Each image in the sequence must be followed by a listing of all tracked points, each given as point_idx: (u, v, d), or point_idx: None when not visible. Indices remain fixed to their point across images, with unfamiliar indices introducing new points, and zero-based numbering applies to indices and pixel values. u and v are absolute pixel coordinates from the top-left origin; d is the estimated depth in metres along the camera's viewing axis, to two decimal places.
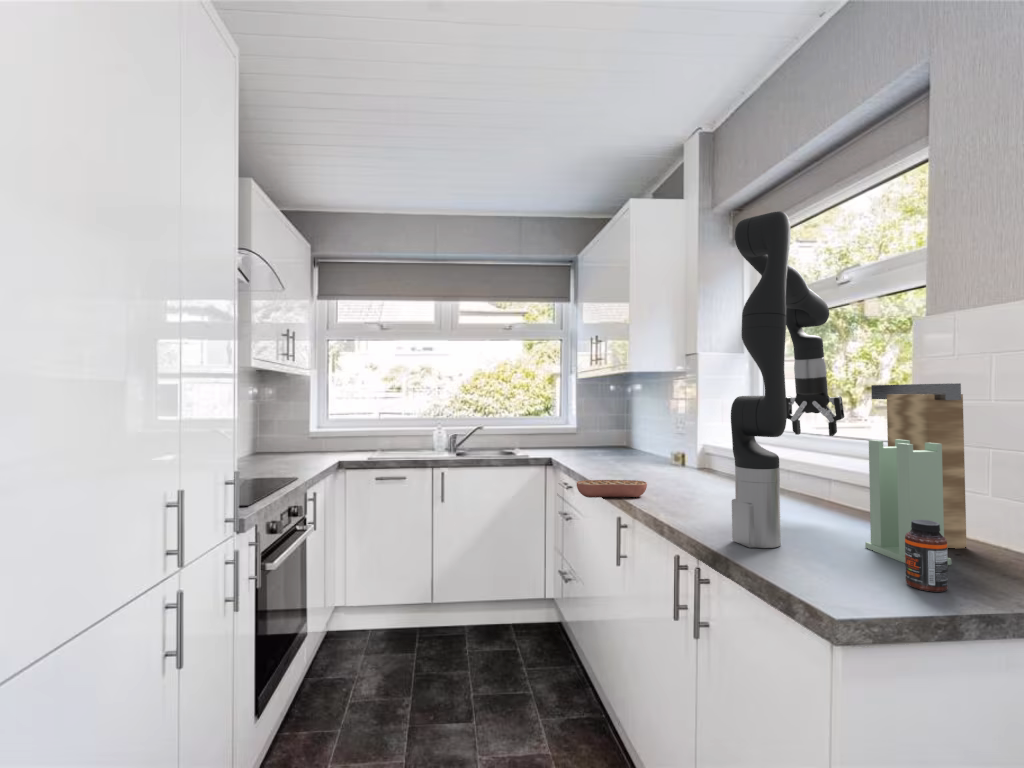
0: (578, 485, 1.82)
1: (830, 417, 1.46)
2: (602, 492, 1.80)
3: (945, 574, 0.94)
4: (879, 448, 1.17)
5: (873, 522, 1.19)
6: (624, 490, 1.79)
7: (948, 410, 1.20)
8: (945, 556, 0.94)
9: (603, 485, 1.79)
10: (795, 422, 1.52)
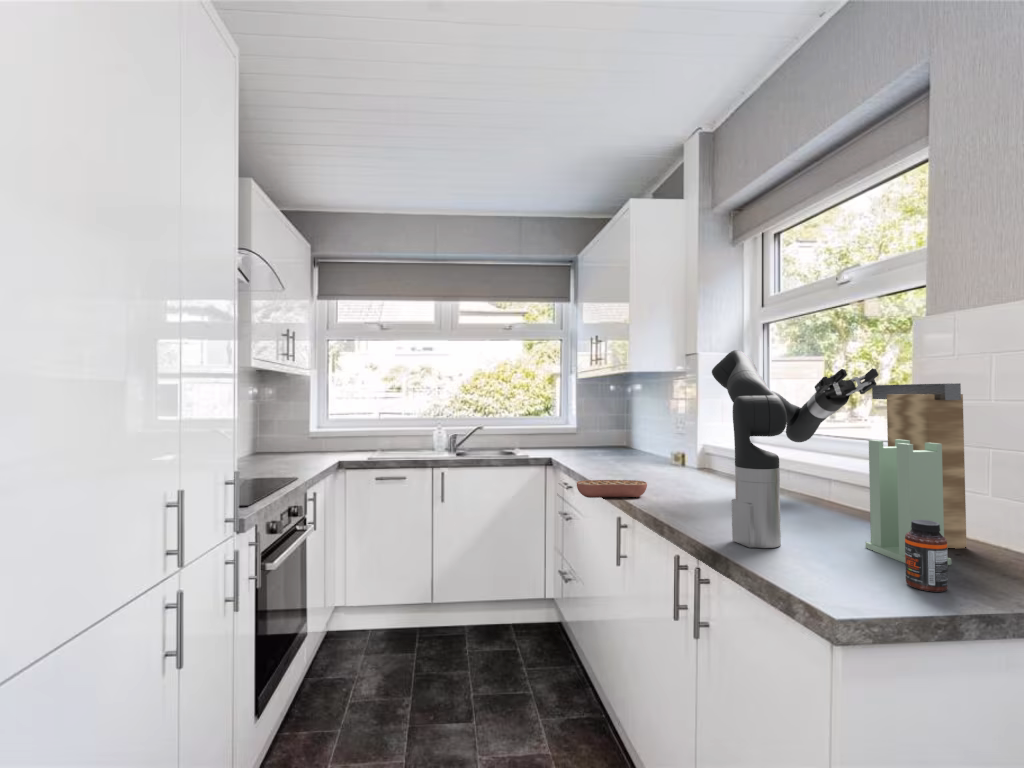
0: (578, 485, 1.81)
1: None
2: (602, 492, 1.80)
3: (945, 574, 0.94)
4: (879, 448, 1.17)
5: (873, 522, 1.19)
6: (625, 490, 1.79)
7: (948, 410, 1.20)
8: (945, 556, 0.94)
9: (603, 485, 1.79)
10: None
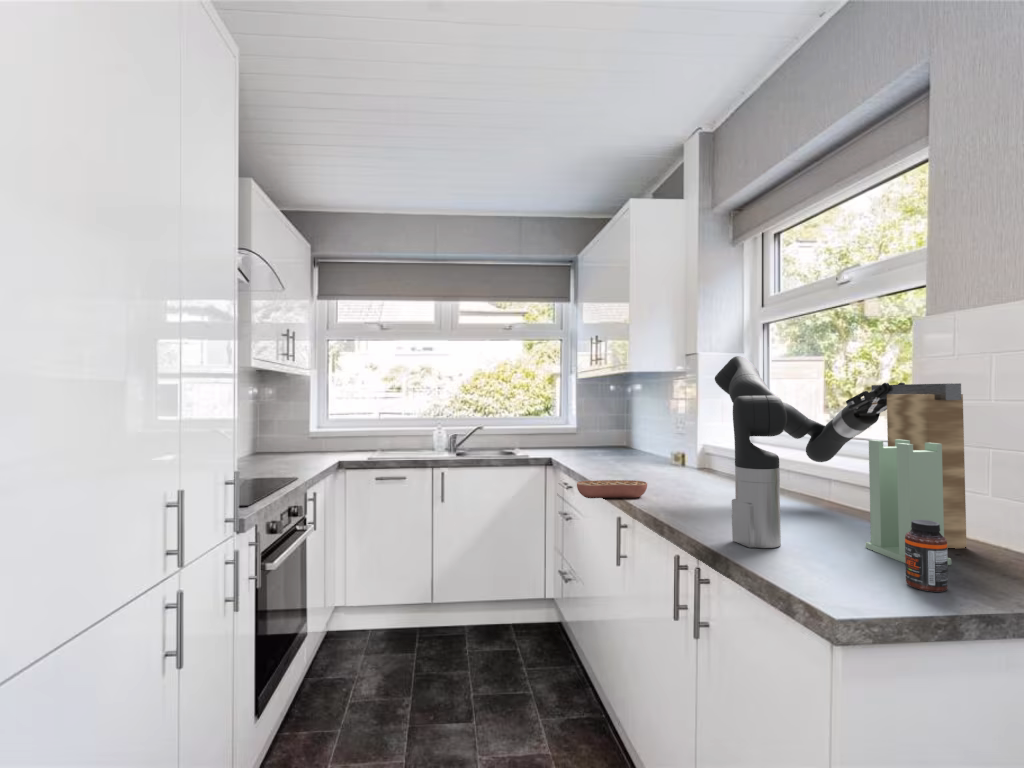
0: (579, 486, 1.80)
1: None
2: (603, 493, 1.79)
3: (945, 574, 0.94)
4: (879, 448, 1.17)
5: (873, 522, 1.19)
6: (625, 490, 1.78)
7: (948, 410, 1.20)
8: (945, 556, 0.94)
9: (604, 486, 1.78)
10: None
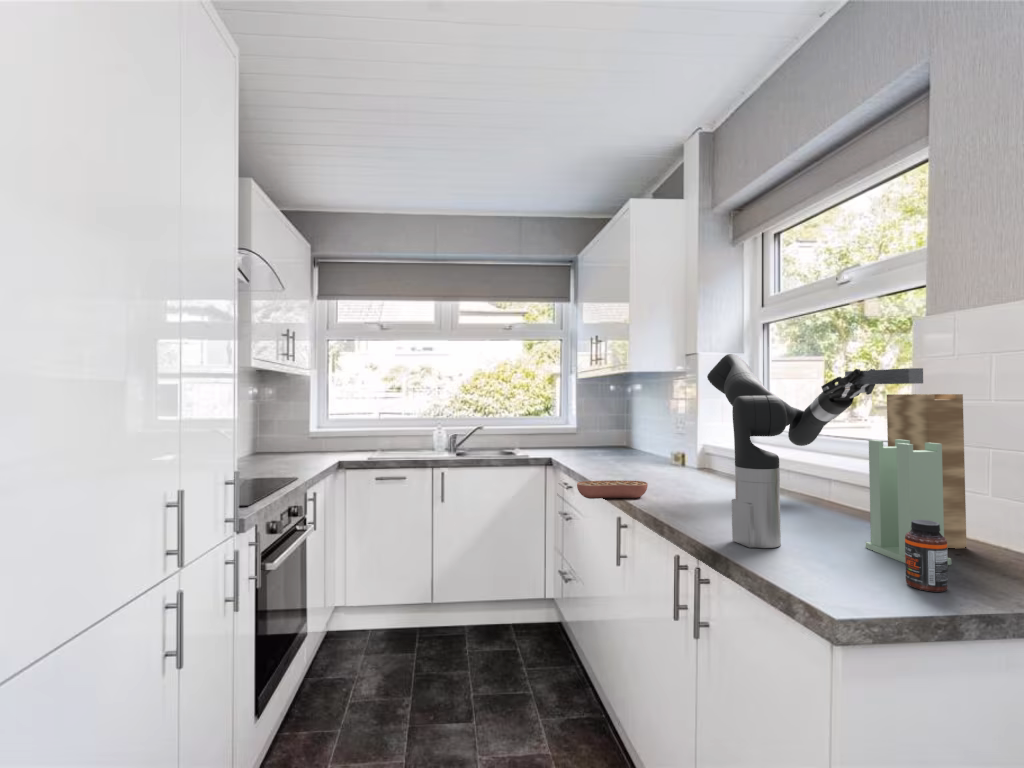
0: (579, 486, 1.80)
1: None
2: (603, 493, 1.78)
3: (945, 574, 0.94)
4: (879, 448, 1.17)
5: (873, 522, 1.19)
6: (626, 490, 1.78)
7: (948, 410, 1.20)
8: (945, 556, 0.94)
9: (605, 486, 1.78)
10: None
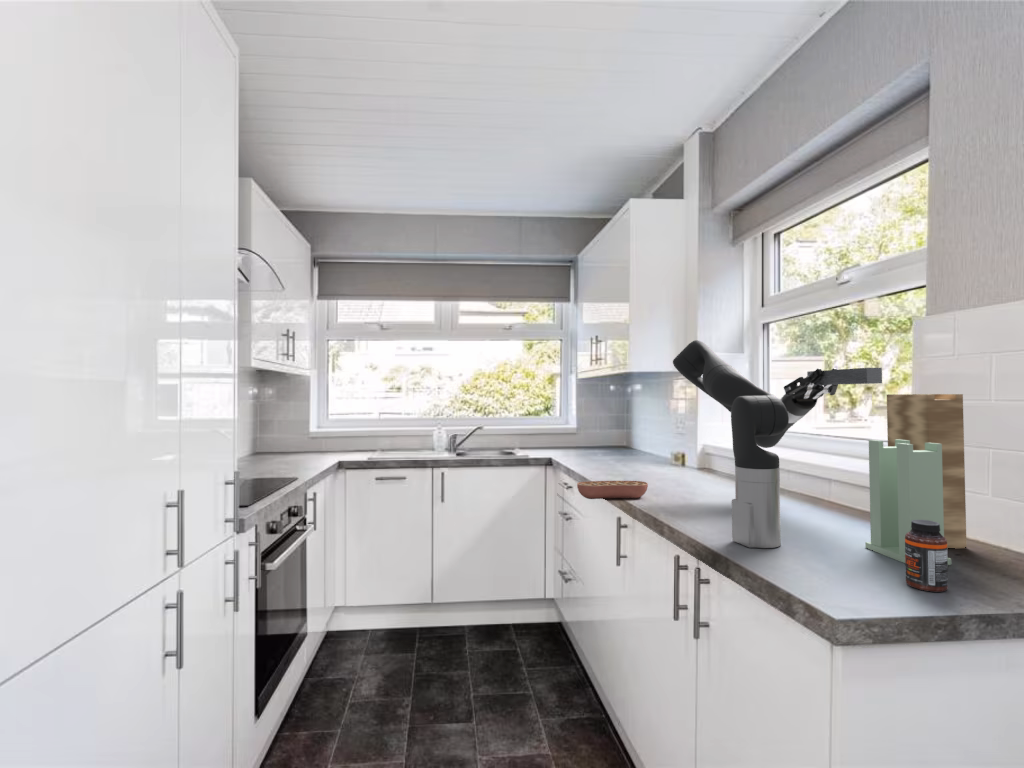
0: (579, 486, 1.79)
1: None
2: (604, 493, 1.78)
3: (945, 574, 0.94)
4: (879, 448, 1.17)
5: (873, 522, 1.19)
6: (626, 490, 1.78)
7: (948, 410, 1.20)
8: (945, 556, 0.94)
9: (605, 486, 1.77)
10: None
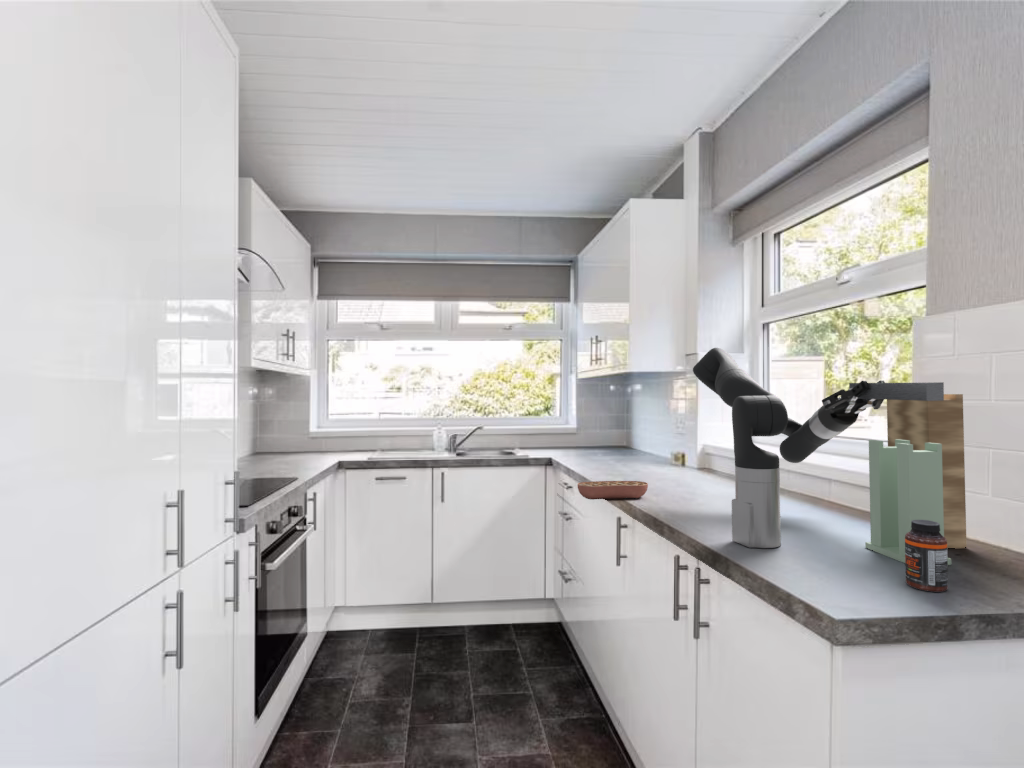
0: (580, 487, 1.78)
1: None
2: (605, 493, 1.77)
3: (945, 574, 0.94)
4: (879, 448, 1.17)
5: (873, 522, 1.19)
6: (627, 491, 1.77)
7: (948, 410, 1.20)
8: (945, 556, 0.94)
9: (606, 486, 1.77)
10: None
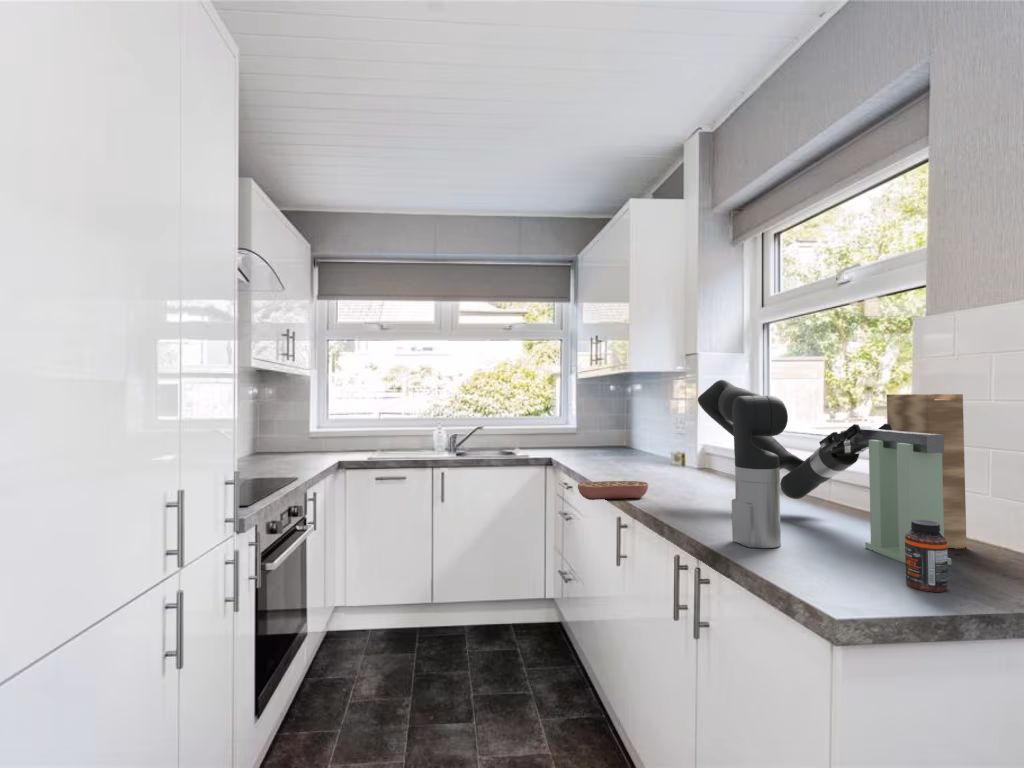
0: (580, 487, 1.77)
1: None
2: (605, 494, 1.77)
3: (945, 574, 0.94)
4: (879, 448, 1.17)
5: (873, 522, 1.19)
6: (627, 491, 1.77)
7: (948, 410, 1.20)
8: (945, 556, 0.94)
9: (606, 487, 1.76)
10: None
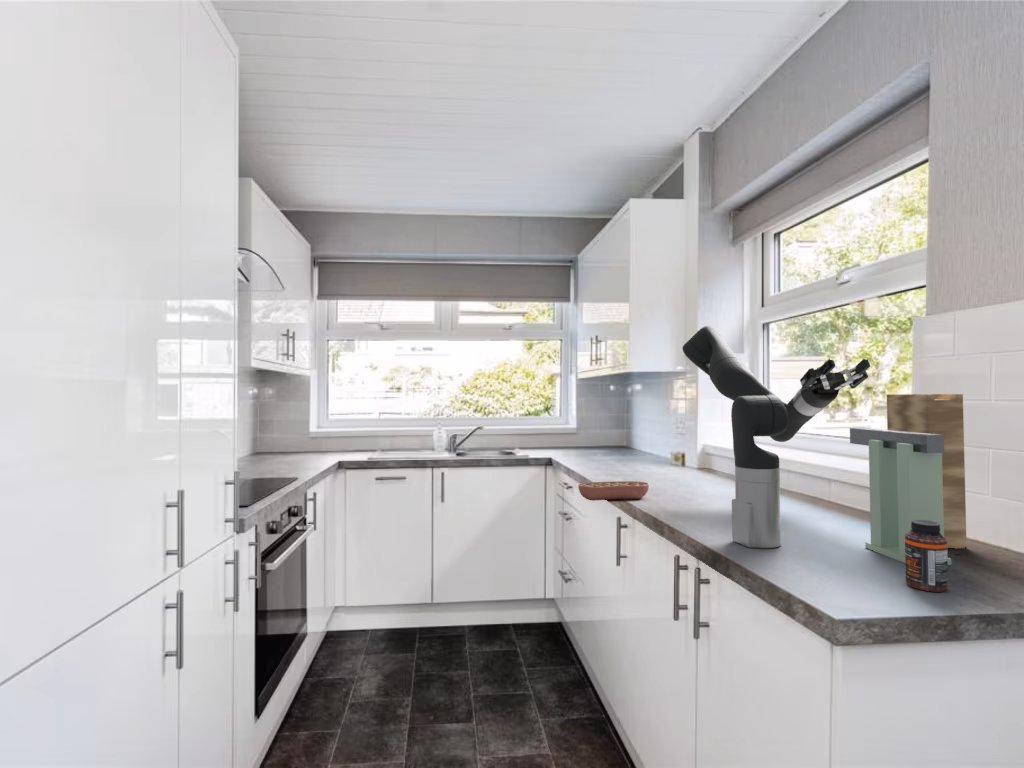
0: (581, 488, 1.76)
1: None
2: (606, 494, 1.76)
3: (945, 574, 0.94)
4: (879, 448, 1.17)
5: (873, 522, 1.19)
6: (628, 491, 1.76)
7: (948, 410, 1.20)
8: (945, 556, 0.94)
9: (608, 487, 1.75)
10: None
